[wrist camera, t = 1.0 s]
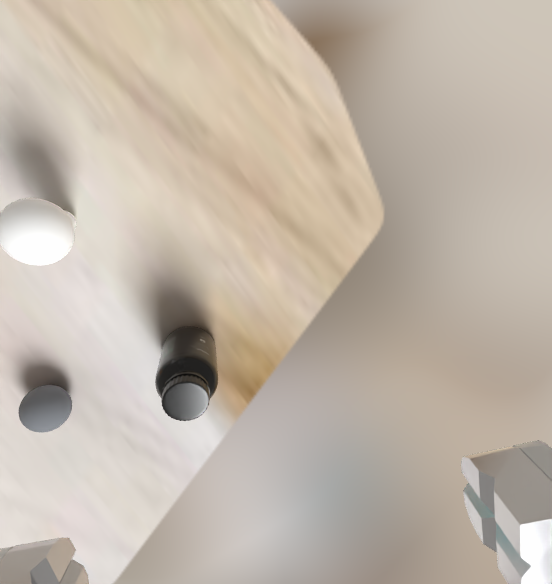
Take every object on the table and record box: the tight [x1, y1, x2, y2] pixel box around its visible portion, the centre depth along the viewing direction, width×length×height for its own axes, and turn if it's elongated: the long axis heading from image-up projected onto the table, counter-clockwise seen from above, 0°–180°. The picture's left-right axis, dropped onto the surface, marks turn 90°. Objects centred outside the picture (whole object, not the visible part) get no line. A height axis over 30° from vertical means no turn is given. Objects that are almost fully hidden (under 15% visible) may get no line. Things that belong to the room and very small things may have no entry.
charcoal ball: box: [19, 385, 72, 432], centre depth 45 cm, size 6×6×6 cm
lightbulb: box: [0, 198, 77, 265], centre depth 36 cm, size 6×6×11 cm
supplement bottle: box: [155, 326, 218, 421], centre depth 43 cm, size 7×7×12 cm
